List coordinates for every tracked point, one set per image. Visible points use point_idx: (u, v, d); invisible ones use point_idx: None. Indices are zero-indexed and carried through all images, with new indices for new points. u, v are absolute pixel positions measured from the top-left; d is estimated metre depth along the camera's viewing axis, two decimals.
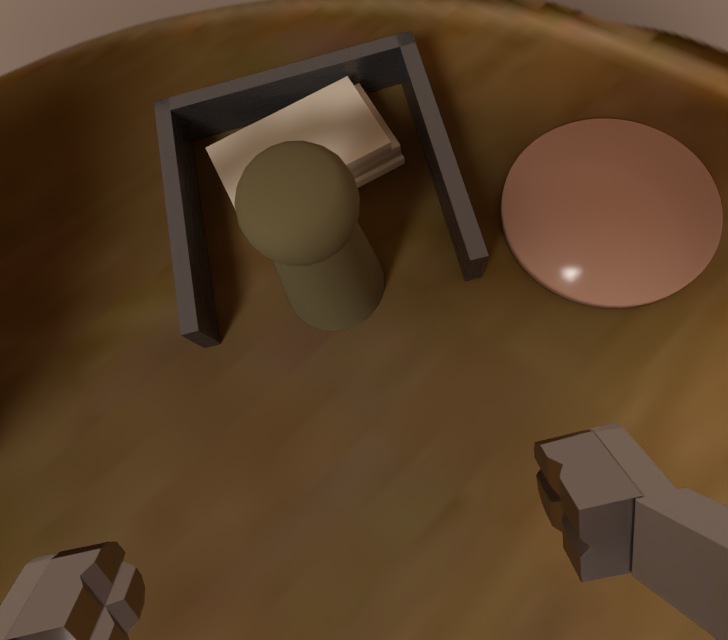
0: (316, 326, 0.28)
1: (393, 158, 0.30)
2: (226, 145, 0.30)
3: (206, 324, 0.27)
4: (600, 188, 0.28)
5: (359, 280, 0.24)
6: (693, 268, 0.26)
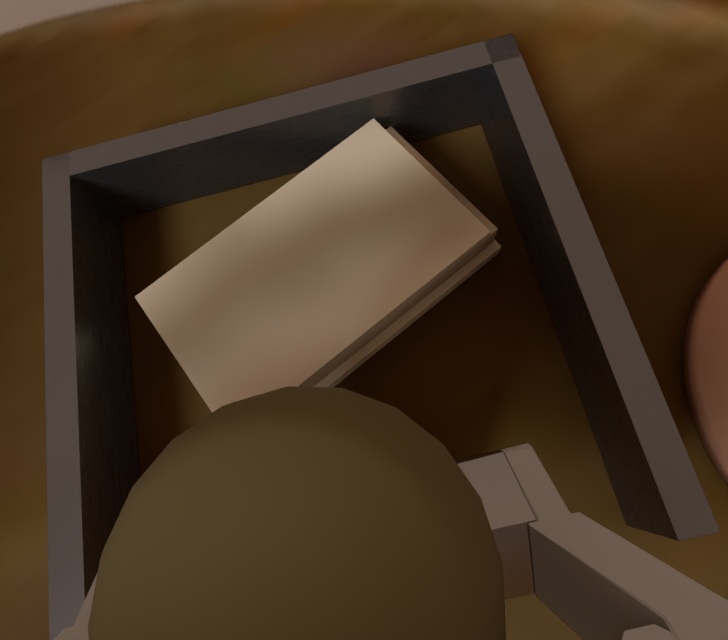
0: None
1: (482, 250, 0.17)
2: (174, 285, 0.15)
3: None
4: None
5: None
6: None
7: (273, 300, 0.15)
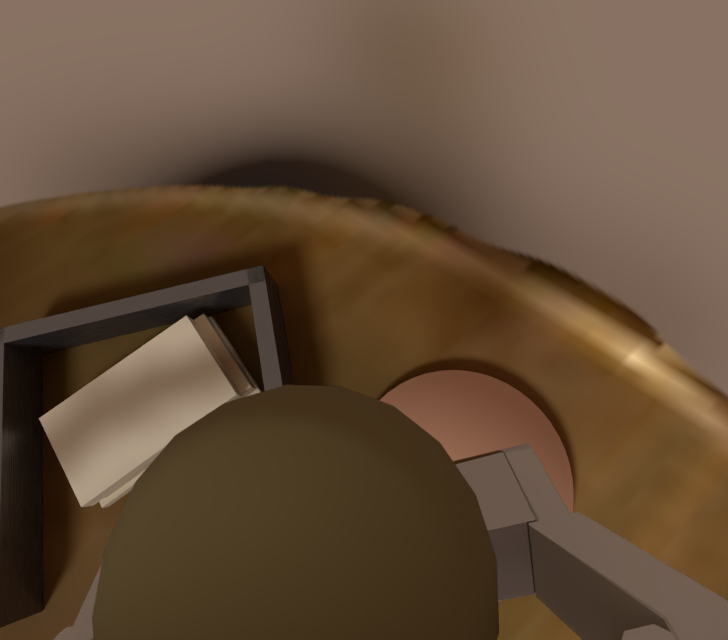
0: None
1: (249, 393, 0.28)
2: (61, 413, 0.27)
3: (16, 605, 0.25)
4: (450, 457, 0.26)
5: None
6: None
7: (114, 426, 0.27)
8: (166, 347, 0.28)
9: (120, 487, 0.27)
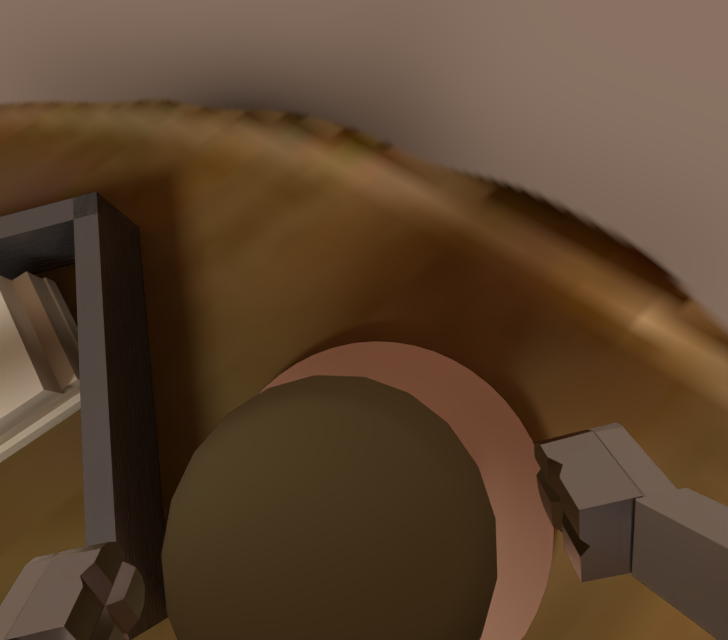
0: None
1: None
2: None
3: None
4: None
5: None
6: None
7: None
8: None
9: None
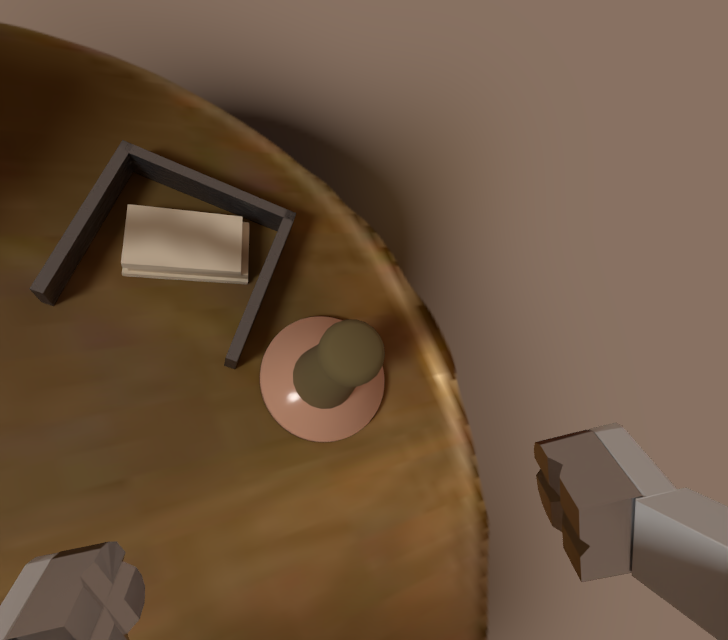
0: (300, 395, 0.44)
1: (241, 278, 0.46)
2: (142, 211, 0.43)
3: (51, 290, 0.39)
4: None
5: (345, 394, 0.41)
6: (337, 435, 0.44)
7: (166, 239, 0.43)
8: (221, 223, 0.45)
9: (140, 270, 0.43)
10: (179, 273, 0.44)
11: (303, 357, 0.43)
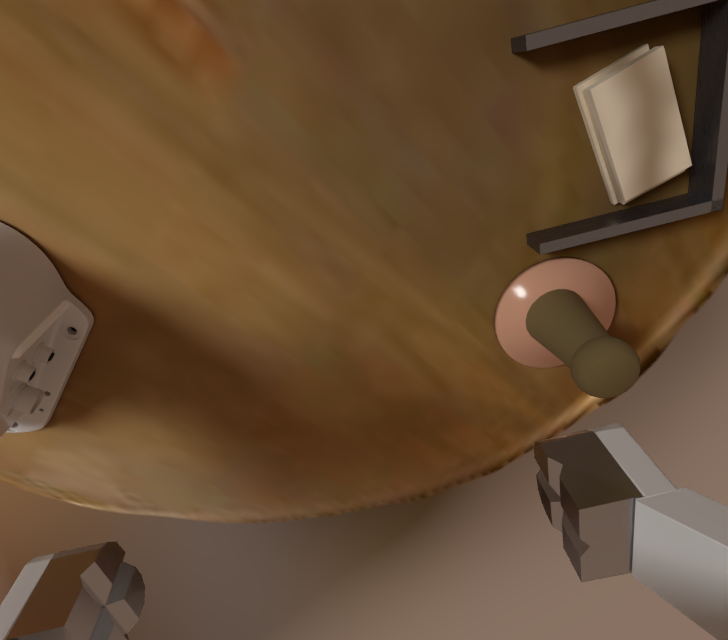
0: (530, 310, 0.47)
1: (616, 197, 0.43)
2: (660, 66, 0.36)
3: None
4: None
5: None
6: (510, 351, 0.49)
7: (635, 112, 0.38)
8: (675, 150, 0.39)
9: (585, 102, 0.39)
10: (598, 140, 0.40)
11: (569, 301, 0.44)
